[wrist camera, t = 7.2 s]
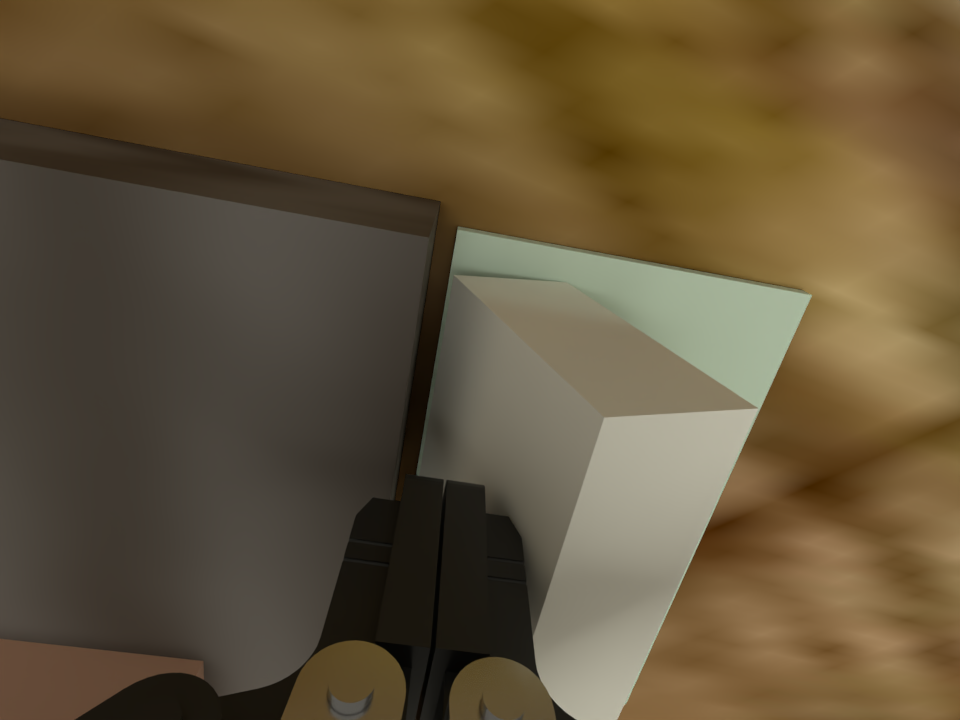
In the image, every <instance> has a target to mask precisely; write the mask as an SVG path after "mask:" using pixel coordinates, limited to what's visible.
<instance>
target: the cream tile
mask: <svg viewBox="0 0 960 720" xmlns="http://www.w3.org/2000/svg"><path fill="white" fill-rule="evenodd" d="M757 411H758V408H757V407H755V406H754V405H752V404H751V403H749V402H748V401H746V400H745V399H743V398H742V397H740V396H739V395H737V394H736V393H734V392H733V391H731V390H730V389H728V388H727V387H725V386H724V385H722V384H721V383H719V382H717V381H716V380H714V379H713V378H711V377H710V376H708V375H707V374H705V373H704V372H702V371H701V370H699V369H698V368H696V367H695V366H693V365H692V364H690V363H689V362H687V361H686V360H684V359H683V358H681V357H679V356H678V355H676V354H675V353H673V352H672V351H670V350H669V349H667V348H666V347H664V346H663V345H661V344H660V343H658V342H657V341H655V340H654V339H652V338H651V337H649V336H648V335H646V334H645V333H643V332H642V331H640V330H638V329H637V328H635V327H634V326H632V325H631V324H629V323H628V322H626V321H625V320H623V319H622V318H620V317H619V316H617V315H616V314H614V313H613V312H611V311H610V310H608V309H607V308H605V307H604V306H602V305H600V304H599V303H597V302H596V301H594V300H593V299H591V298H590V297H588V296H587V295H585V294H584V293H582V292H581V291H579V290H578V289H576V288H575V287H573V286H572V285H570V284H569V283H567V282H555V281H540V280H524V279H509V278H494V277H479V276H463V275H454V276H453V282H452V288H451V294H450V300H449V305H448V311H447V317H446V323H445V329H444V334H443V340H442V346H441V352H440V358H439V363H438V369H437V375H436V381H435V387H434V392H433V398H432V404H431V410H430V415H429V421H428V427H427V433H426V439H425V444H424V450H423V456H422V462H421V468H420V473H419V476H424V477H431V478H438V479H444V485H443V493H444V488H445V483H446V480H453V481H460V482H467V483H474V484H480V485H484V486H485V503H486V513H488V514H495V515H502V516H509V518H510V520H511V521H512V523H513V524H514V526H515V528H516V529H517V531H518V533H519V534H520V536H521V537H522V545H523V554H524V566H525V572H526V586H527V589H528V598H529V607H530V616H531V625H532V634H533V643H534V652H535V661H536V667H537V671H538V674H539V677H540V680H541V682H542V683H543V684H544V686H545V688H546V689H547V691H548V693H549V695H550V697H551V698H552V699H553V700H554V701H555V702H556V704H557V705H558V706H559V707H560V708H562V709H563V710H564V711H565V712H566V713H567V714H569V715H570V716H572V717H573V718H574V719H576V720H617V719H618V717H619V715H620V712H621V710H622V708H623V706H624V704H625V701H626V699H627V697H628V695H629V693H630V690H631V688H632V686H633V684H634V681H635V679H636V677H637V675H638V673H639V670H640V668H641V666H642V664H643V662H644V659H645V657H646V655H647V653H648V651H649V648H650V646H651V644H652V642H653V640H654V637H655V635H656V633H657V631H658V629H659V626H660V624H661V622H662V620H663V618H664V615H665V613H666V611H667V609H668V607H669V604H670V602H671V600H672V598H673V596H674V593H675V591H676V589H677V587H678V585H679V582H680V580H681V578H682V576H683V574H684V571H685V569H686V567H687V565H688V563H689V560H690V558H691V556H692V554H693V552H694V549H695V547H696V545H697V543H698V541H699V538H700V536H701V534H702V532H703V529H704V527H705V525H706V523H707V521H708V518H709V516H710V514H711V512H712V510H713V507H714V505H715V503H716V501H717V499H718V496H719V494H720V492H721V490H722V488H723V485H724V483H725V481H726V479H727V477H728V474H729V472H730V470H731V468H732V466H733V463H734V461H735V459H736V457H737V455H738V452H739V450H740V448H741V446H742V444H743V441H744V439H745V437H746V435H747V433H748V430H749V428H750V426H751V424H752V422H753V419H754V417H755V415H756V413H757Z"/></svg>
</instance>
